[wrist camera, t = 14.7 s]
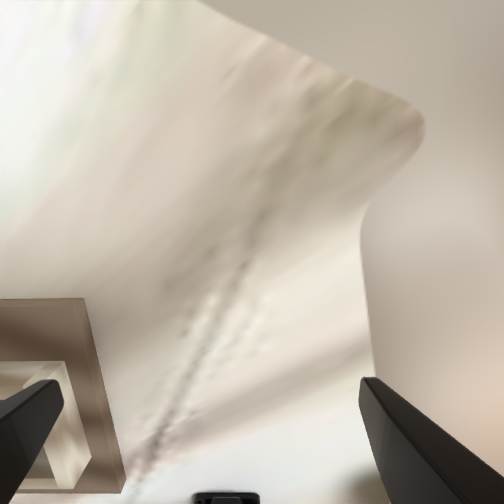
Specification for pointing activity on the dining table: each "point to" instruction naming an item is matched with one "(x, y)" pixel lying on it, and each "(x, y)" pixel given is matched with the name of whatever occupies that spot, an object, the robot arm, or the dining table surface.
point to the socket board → (73, 389)
